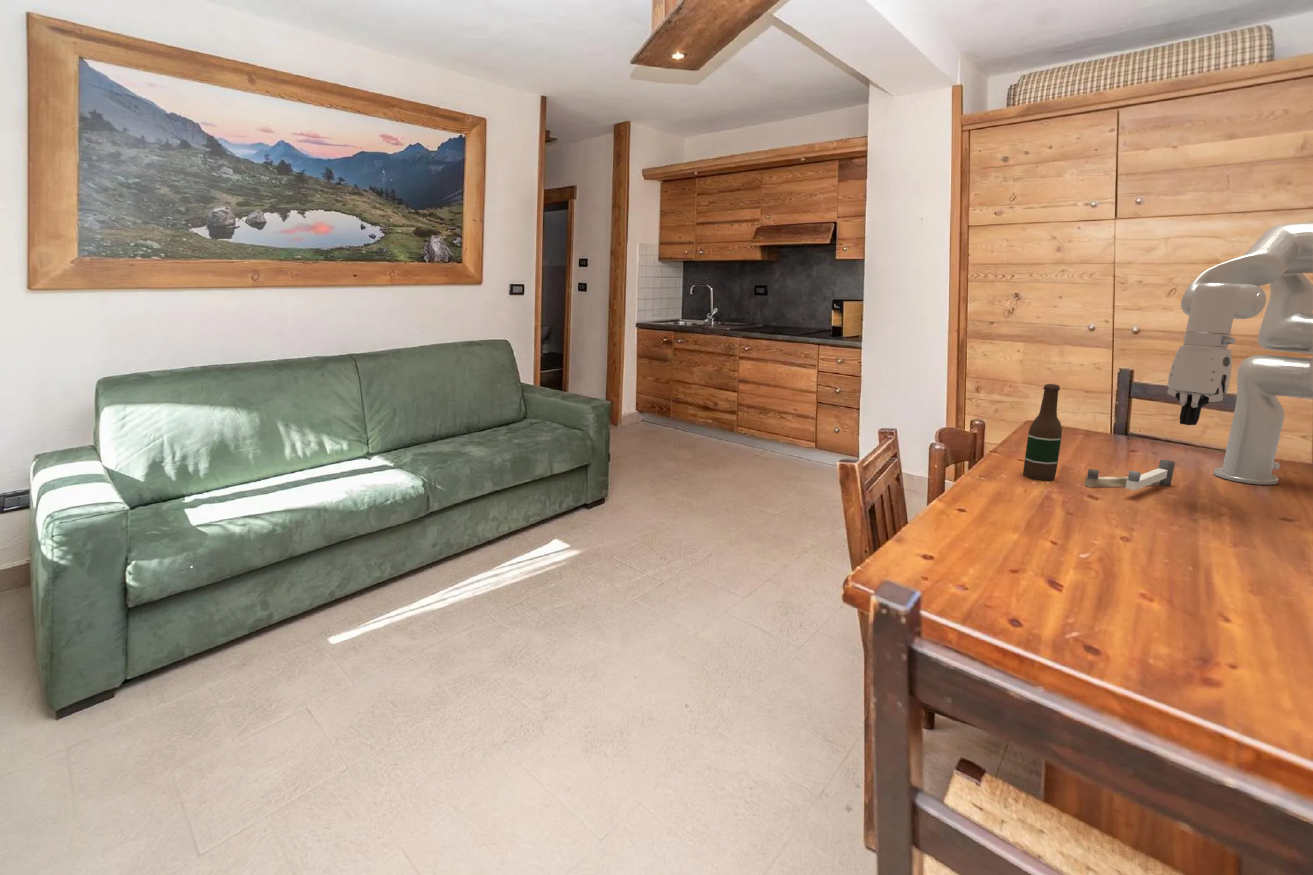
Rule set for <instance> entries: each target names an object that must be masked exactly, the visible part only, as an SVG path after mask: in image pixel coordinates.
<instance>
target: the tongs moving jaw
mask: <svg viewBox="0 0 1313 875" xmlns="http://www.w3.org/2000/svg"><path fill="white" fill-rule="evenodd" d="M1167 472H1168V470H1164V469H1159V467H1158V468H1155V469H1152V470H1150V471H1148V472H1145V473H1142V472H1140V471H1136V470H1129V472H1128V480H1127V482H1126V487H1125V489H1126V490H1127V489H1128V490H1131V491H1137V490H1140V489H1142V488H1145V487H1149V486H1148V485H1150V484H1153V483H1155V482H1158V481H1160V480H1163V479H1165V478H1166V477H1167ZM1141 473H1142V474H1141Z"/></svg>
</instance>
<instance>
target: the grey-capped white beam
mask: <svg viewBox="0 0 1313 875" xmlns="http://www.w3.org/2000/svg"><path fill="white" fill-rule="evenodd" d="M1175 464H1176V462H1175V461H1174V460H1169V459H1160V460H1159V464H1158V468H1159V469H1164V470H1168V472H1167V477H1166V478H1165V479H1163V480H1160V481H1158V482H1155V483H1153V484H1150V485H1148V486H1147V487H1159V486H1161V487H1171V486H1172V480H1173V475H1174V470H1175ZM1099 473H1100V471H1099V470H1098V469H1094V468H1088V472H1087V476H1085V478H1084V479H1085V480H1084V486H1087V487H1089V488H1116V487H1117V488H1118V487H1119V488H1120V487H1121V488H1122V487H1123V488H1126V482H1127V480H1128V476H1129V475H1128V476H1123V475H1122V476H1099Z"/></svg>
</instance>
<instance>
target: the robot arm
mask: <svg viewBox="0 0 1313 875" xmlns="http://www.w3.org/2000/svg"><path fill="white" fill-rule="evenodd" d="M1305 274H1313V221H1312V222H1311V221H1310V222H1290V223H1288V222H1287V223H1281V224H1278V225H1275V226H1272V227H1270V228H1268V229H1267V230H1266V231H1265V232H1264V233H1263V234H1262V235H1261V236H1260V237H1259V238H1258V239H1256V241H1255V242H1254V243H1253V245H1251V247H1250V248H1249V249H1248V250H1247V251H1246V252H1245V254H1243V255H1240V256H1237V257H1235V258H1231V259H1229V260H1226V261H1223V262H1222V263H1219V264H1216V265H1214V266H1212V267H1209V268H1208V269H1206V270H1204V271H1202V272H1200V274H1198V276H1196V278H1194V280H1193V281H1192V282H1191V283H1190V284H1189V285H1188V286H1187V288H1185V291H1184V292H1183V294H1182V298H1181V301H1180V307H1181V310H1182V312H1183V313H1184V314H1185V315H1186V316H1188V318H1187V319H1188V320H1187V323H1186V324H1187V325H1186V328H1185V334H1184V338H1183V343H1182V345H1180V346H1179V348H1178V349H1177V351H1176V354H1175V356H1174V359H1173V361H1172V364H1171V368H1170V371H1169V375H1168V379H1167V388H1168V389H1167V392H1166V393H1167V395H1169V396H1172V397H1174V398H1176V399H1177V400H1178V402H1179V405H1180V406H1181V410H1180V414H1179V424H1180V425H1185V426H1196V425H1197V424H1198V422H1199V420H1200V415H1201V411H1202V408H1204V407H1205V406H1206V405H1208V404H1209V403H1211V402H1212V403H1216V402H1222V401H1223V399H1224V396H1223V395H1226V394H1227V393H1228V391H1229V387H1230V382H1231V376H1232V375H1231V374H1232V369H1233V368H1232V367H1233V364H1232V363H1233V362H1232V360H1233V358H1232V356H1233V352H1232V349H1229V348H1228V347H1229V345H1234V344H1235V342H1236V338H1235V337H1231V330H1232V326H1233V322H1234V320H1247V319H1251V318H1254V317H1256V316H1258V315H1259V314H1260V313H1261V312H1263V310H1264V308H1265V306H1266V309H1265V312H1264V316H1263V317H1262V321H1261V323H1260V327H1259V330H1258V336H1257V343H1258V346H1260V347H1261V348H1263V349H1265V350H1269V351H1274V352H1283V353H1284V352H1286V353H1301V354H1308V355H1309V354H1311V355H1312V356H1313V283H1312V282H1311V280H1310V279H1308V277H1307V276H1306V275H1305ZM1268 284H1269V288H1270V294H1269V295H1270V296H1269V298H1268V303H1267V295H1266V292H1265V290H1263V288H1262V286H1265V285H1268ZM1266 304H1267V305H1266ZM1236 377H1237V380H1236V382H1237V384H1236V385H1237V388H1236V389H1237V392H1236V400H1235V406H1234V411H1233V416H1232V417H1233V418H1232V420H1231V424H1230V425H1231V426H1230V431H1229V434H1228V435H1229V436H1228V440H1227V445H1226V448H1225V449H1226V450H1225V455H1224V458H1223V459H1224V460H1223V464H1222V466H1221V467H1217V468H1214V470H1213V474H1214V475H1215V476H1217V477H1219V478H1222V479H1224V480H1227V481H1233V482H1238V483H1242V484H1243V483H1244V484H1251V485H1261V486H1265V485H1266V486H1267V485H1268V486H1269V485H1271V486H1272V485H1277V484H1278V483H1279V477H1278V476H1276V475H1273V474H1272V473H1273V471H1274V470H1279V469H1280V468H1281V465H1280V463H1279V462H1277V461H1275V459H1276V455H1277V451H1278V447H1279V442H1280V437H1281V433H1282V428H1283V424H1284V419H1285V410H1284V407H1283V405H1282V404H1281V402H1280V401H1279V400H1278V397H1289V398H1298V399H1306V400H1313V357H1311V358H1309V357H1308V358H1307V357H1295V356H1286V355H1273V354H1258V355H1252V356H1248V357H1246V358H1245V359H1243V360H1242V361H1241V362H1240V364H1239V365H1238V369H1237V374H1236ZM1277 396H1278V397H1277Z"/></svg>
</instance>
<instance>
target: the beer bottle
mask: <svg viewBox="0 0 1313 875" xmlns="http://www.w3.org/2000/svg"><path fill="white" fill-rule="evenodd" d="M1060 389H1061V386H1060V385H1059V384H1056V383H1055V384H1053V383H1046V384H1044V386H1043V390H1044V391H1043V394H1042V400H1041V406H1040V410H1039V414H1038V416H1036V417H1035V418H1034V419H1033V421H1032V423H1031V425H1030V427H1029V431H1028V433H1027V440H1026V442H1027V443H1026V449H1025V457H1024V463H1023V469H1022V470H1023V477H1025V478H1027V479H1030V480H1034V481H1035V480H1036V481H1043V482H1049V481H1054V480H1055V478H1056V474H1057V470H1058V464H1059V463H1058V462H1059V457H1060V449H1061V442H1062V437H1063V434H1062V433H1063V427H1062V424H1061V421H1060V419H1059V418H1058V410H1057V409H1058V402H1059V401H1058V399H1059V391H1060Z"/></svg>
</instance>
